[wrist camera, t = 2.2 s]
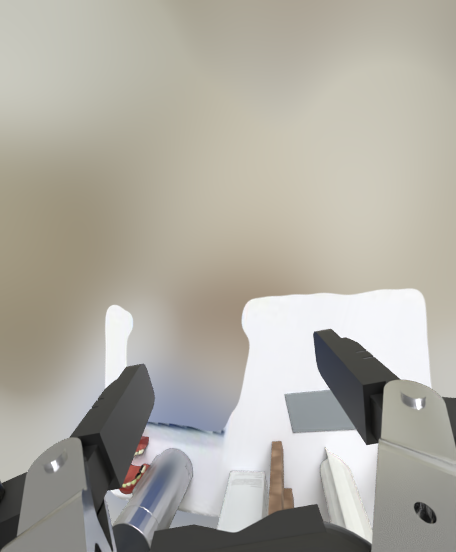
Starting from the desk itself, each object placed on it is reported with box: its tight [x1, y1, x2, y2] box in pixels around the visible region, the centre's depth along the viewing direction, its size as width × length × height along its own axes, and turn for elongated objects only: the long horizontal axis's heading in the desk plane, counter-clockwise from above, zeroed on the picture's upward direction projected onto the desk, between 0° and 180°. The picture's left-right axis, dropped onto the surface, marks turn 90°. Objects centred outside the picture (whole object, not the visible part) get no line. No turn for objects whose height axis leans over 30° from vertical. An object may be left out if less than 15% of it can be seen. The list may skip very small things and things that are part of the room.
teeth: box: [119, 436, 149, 494], centre depth 54 cm, size 8×6×12 cm
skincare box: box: [217, 471, 269, 532], centre depth 42 cm, size 8×7×16 cm
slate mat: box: [285, 390, 356, 432], centre depth 46 cm, size 14×8×1 cm, turn 102°
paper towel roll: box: [320, 447, 373, 544], centre depth 35 cm, size 7×6×21 cm
